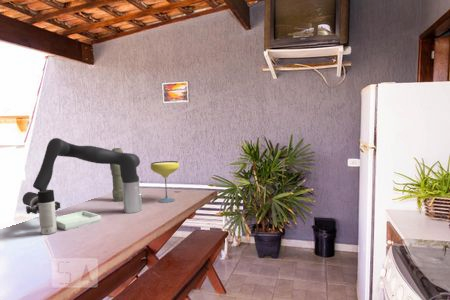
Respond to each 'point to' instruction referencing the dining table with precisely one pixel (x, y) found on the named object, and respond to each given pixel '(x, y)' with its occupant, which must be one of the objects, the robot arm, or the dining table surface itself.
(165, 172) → the cocktail glass
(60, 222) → the sage tray
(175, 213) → the dining table surface
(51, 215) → the spray can
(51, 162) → the robot arm
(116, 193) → the olive green statue
